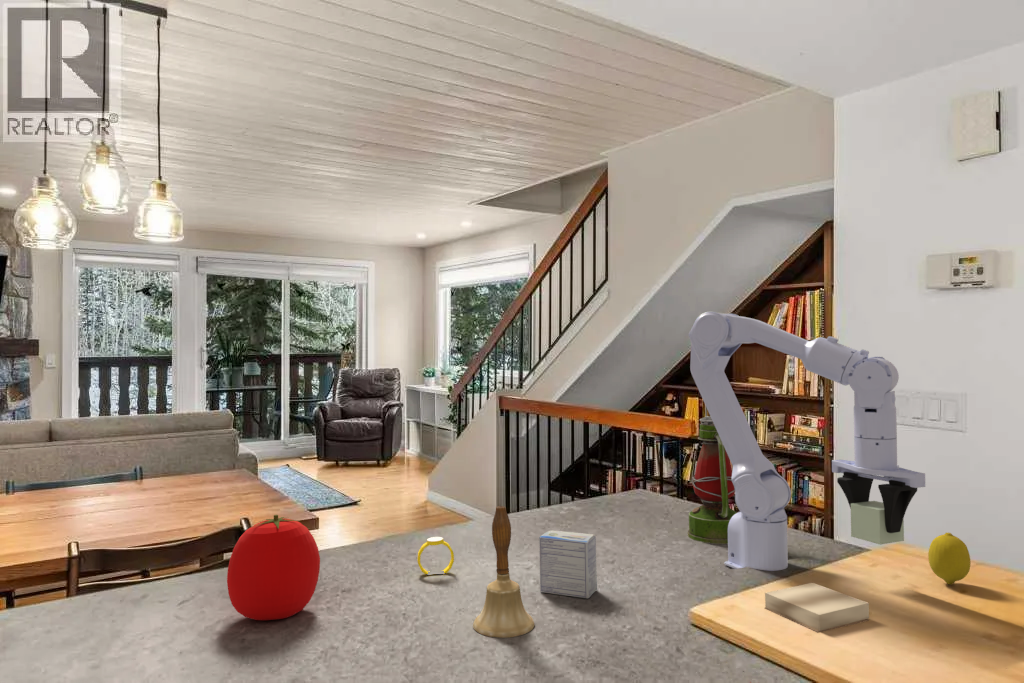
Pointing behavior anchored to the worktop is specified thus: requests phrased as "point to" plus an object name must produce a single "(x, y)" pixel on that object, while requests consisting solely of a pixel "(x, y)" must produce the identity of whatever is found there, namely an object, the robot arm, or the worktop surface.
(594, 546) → the medicine box
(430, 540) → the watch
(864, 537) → the cube
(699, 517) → the lantern
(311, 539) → the tomato
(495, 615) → the hand bell
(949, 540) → the lemon
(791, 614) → the slab top
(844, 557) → the worktop surface
